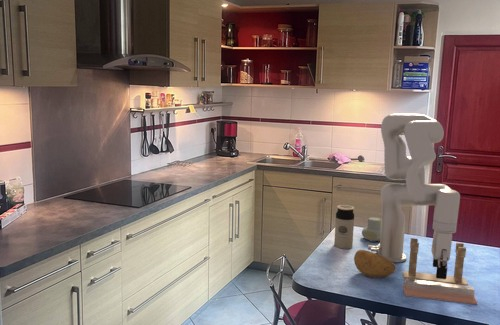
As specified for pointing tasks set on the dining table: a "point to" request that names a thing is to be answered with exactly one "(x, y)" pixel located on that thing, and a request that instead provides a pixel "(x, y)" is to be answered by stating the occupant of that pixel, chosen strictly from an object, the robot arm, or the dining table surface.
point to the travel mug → (344, 227)
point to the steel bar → (440, 288)
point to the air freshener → (372, 229)
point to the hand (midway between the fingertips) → (439, 272)
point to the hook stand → (432, 277)
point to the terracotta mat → (439, 296)
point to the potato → (373, 264)
